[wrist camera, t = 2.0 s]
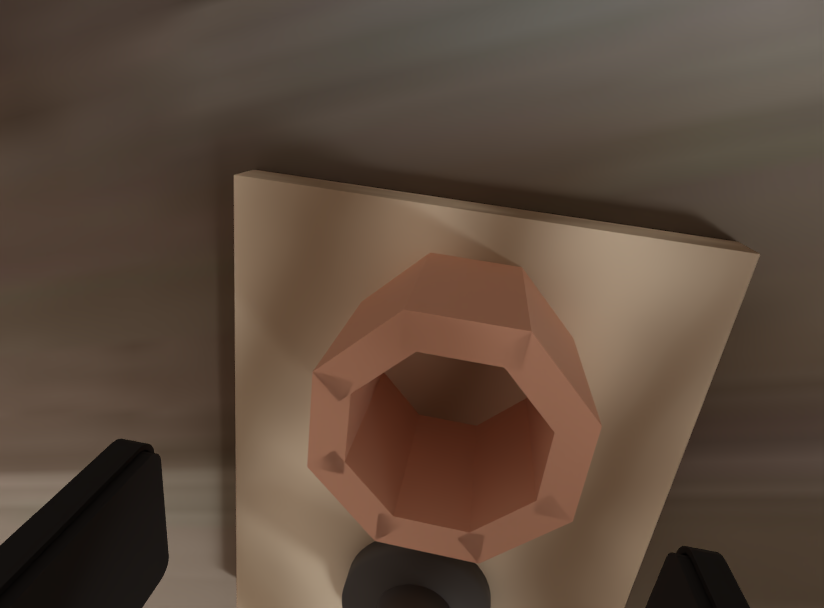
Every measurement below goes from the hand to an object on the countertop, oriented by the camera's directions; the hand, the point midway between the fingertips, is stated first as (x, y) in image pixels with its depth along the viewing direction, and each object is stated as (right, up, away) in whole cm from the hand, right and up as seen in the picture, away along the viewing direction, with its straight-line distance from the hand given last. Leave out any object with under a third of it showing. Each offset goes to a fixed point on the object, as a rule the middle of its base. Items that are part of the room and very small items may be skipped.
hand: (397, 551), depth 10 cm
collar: (+2, +3, +8) cm, 9 cm away
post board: (+1, -1, +11) cm, 11 cm away
